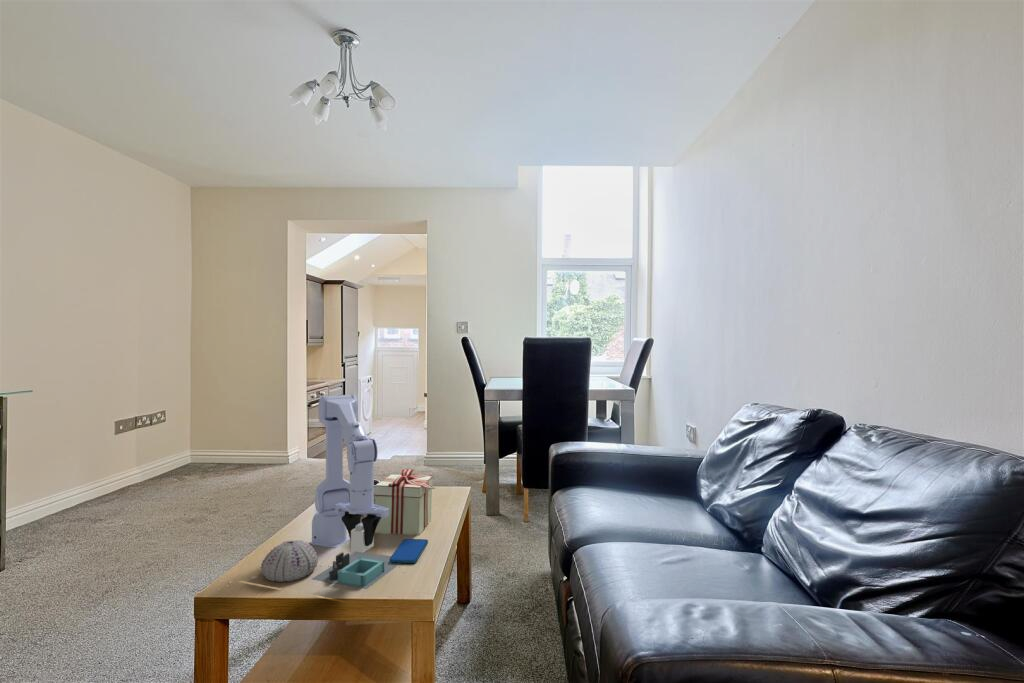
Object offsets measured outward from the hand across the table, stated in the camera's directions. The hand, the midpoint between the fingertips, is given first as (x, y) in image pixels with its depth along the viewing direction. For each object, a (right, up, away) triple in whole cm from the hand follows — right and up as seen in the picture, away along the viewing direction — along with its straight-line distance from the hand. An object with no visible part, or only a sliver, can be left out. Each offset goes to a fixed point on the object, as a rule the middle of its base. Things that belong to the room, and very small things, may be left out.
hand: (361, 543), depth 124 cm
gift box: (+4, -10, +37) cm, 38 cm away
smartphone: (+9, -9, +15) cm, 19 cm away
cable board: (-2, -9, +5) cm, 10 cm away
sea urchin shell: (-19, -9, +3) cm, 21 cm away
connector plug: (0, -1, 0) cm, 1 cm away
